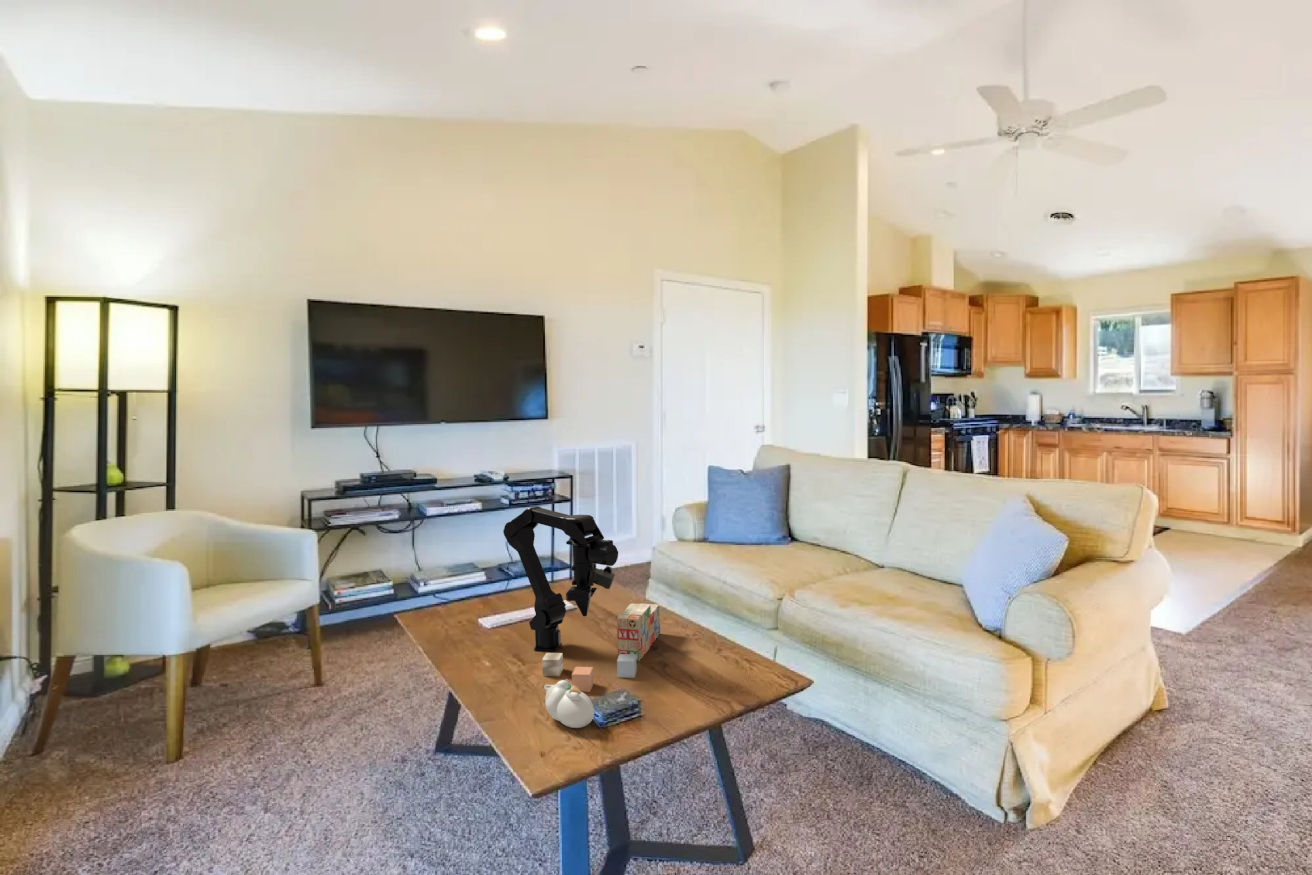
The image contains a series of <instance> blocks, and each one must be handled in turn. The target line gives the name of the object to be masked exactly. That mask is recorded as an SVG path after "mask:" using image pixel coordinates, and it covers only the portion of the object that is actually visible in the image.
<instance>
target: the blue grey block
mask: <svg viewBox="0 0 1312 875" xmlns="http://www.w3.org/2000/svg"><path fill="white" fill-rule="evenodd" d="M617 657H618V656H617ZM616 670H617V671H616V673H617V674H616V675H617V678H623V679H624V678H627V679H628V678H629V679H630V678H631V679H634V678H636V674H637V672H638V671H637V670H638V669H637V661H636V654H619V657H618V658H617V660H616Z"/></svg>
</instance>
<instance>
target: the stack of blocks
mask: <svg viewBox="0 0 1312 875" xmlns="http://www.w3.org/2000/svg"><path fill="white" fill-rule="evenodd" d="M616 622H617V623H616V624H617V630H616V632H617V647H618V648H617V653H618V654H617V657H619V654H636V662H640V661H641V660H640V659H643V658H644V656H645V655H646V653H648V651H649V650H650V648H651V646H652V645H653V644H654V642H655V641H656V640H657V639H656V638H658V637H659V636H660V635H661V614H660V604H655V603H653V604H652V603H629V605H628V606H627V607H626V609H625V610H623V611H622V612H621V613H620V614H619V615H617V619H616ZM659 634H660V635H659ZM652 643H653V644H652ZM644 654H645V655H644Z"/></svg>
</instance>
